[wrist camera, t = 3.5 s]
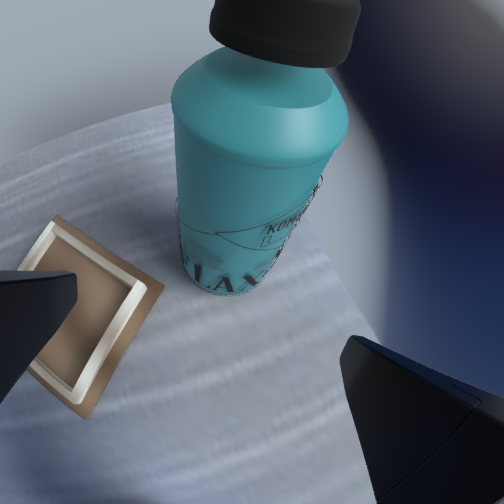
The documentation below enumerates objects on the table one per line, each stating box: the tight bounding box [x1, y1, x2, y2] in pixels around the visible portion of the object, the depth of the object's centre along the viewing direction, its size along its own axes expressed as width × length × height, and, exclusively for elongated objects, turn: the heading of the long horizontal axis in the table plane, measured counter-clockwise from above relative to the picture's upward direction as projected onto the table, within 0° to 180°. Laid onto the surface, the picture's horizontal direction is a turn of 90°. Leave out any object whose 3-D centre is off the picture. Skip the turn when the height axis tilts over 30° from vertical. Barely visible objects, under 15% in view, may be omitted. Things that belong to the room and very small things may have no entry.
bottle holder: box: [17, 215, 165, 420], centre depth 19 cm, size 12×12×2 cm
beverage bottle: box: [171, 0, 361, 296], centre depth 14 cm, size 6×7×20 cm
